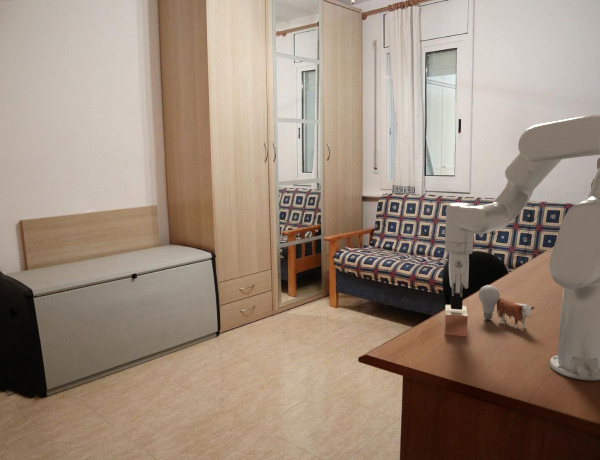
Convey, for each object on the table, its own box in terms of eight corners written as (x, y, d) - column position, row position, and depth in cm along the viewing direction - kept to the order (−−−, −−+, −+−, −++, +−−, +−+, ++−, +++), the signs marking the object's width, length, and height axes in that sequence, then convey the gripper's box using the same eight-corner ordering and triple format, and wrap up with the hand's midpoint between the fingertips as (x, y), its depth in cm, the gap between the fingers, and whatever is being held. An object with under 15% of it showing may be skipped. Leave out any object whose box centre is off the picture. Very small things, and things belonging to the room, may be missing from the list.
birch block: (467, 316, 144) (466, 306, 152) (445, 314, 145) (445, 304, 154) (466, 336, 145) (465, 325, 153) (444, 334, 146) (444, 323, 155)
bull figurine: (525, 335, 145) (527, 307, 143) (492, 320, 157) (493, 294, 156) (537, 333, 146) (539, 305, 145) (503, 318, 159) (505, 292, 157)
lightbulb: (486, 324, 153) (487, 289, 152) (473, 317, 159) (474, 283, 157) (502, 321, 155) (504, 287, 153) (489, 315, 161) (491, 281, 159)
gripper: (474, 252, 136) (471, 318, 139) (471, 241, 150) (468, 301, 153) (445, 251, 138) (443, 316, 141) (444, 240, 152) (442, 299, 155)
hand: (456, 308), depth 147 cm, fingers closed
